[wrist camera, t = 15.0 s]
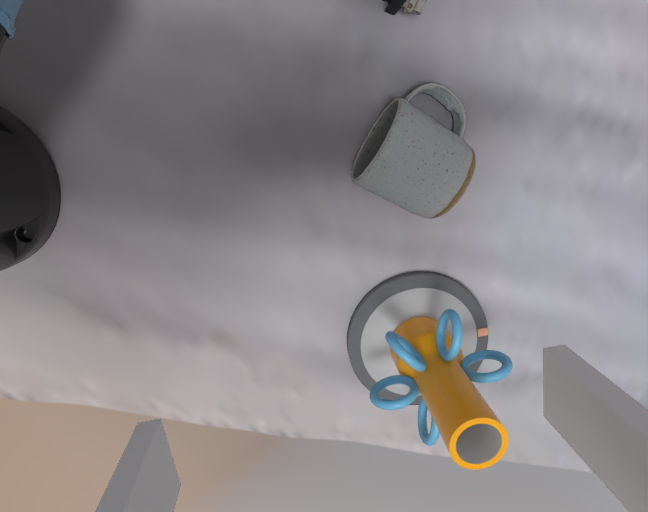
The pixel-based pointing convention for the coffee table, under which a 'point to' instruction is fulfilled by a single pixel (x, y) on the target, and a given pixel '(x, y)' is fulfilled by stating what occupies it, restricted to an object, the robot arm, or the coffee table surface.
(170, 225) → the coffee table surface
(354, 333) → the plate
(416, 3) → the scope
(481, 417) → the cylinder
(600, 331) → the coffee table surface
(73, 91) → the coffee table surface
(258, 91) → the coffee table surface
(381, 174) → the ceramic mug
